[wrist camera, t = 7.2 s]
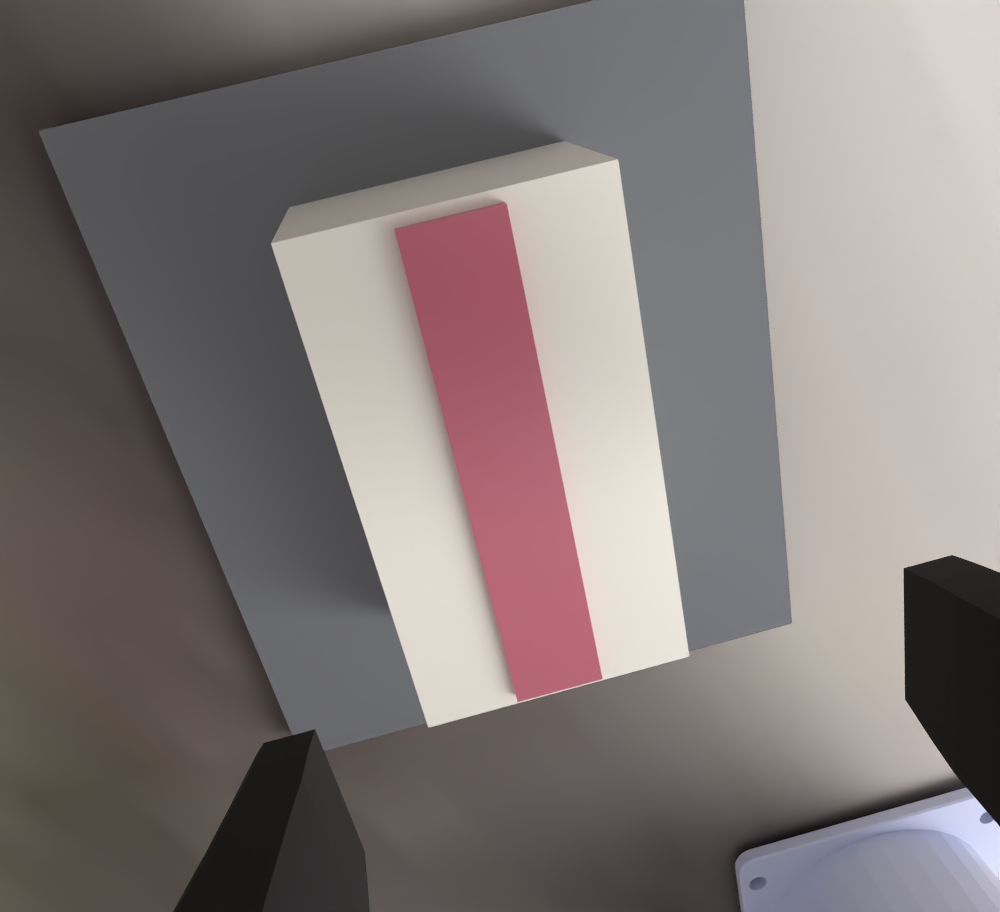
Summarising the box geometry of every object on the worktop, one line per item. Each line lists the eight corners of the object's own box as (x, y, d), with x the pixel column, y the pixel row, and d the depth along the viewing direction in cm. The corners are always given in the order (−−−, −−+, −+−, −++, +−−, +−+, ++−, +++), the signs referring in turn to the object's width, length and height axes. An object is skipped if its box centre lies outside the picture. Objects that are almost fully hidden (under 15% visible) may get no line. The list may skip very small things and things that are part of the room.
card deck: (564, 141, 15) (622, 160, 12) (634, 560, 19) (693, 663, 16) (289, 206, 15) (270, 245, 12) (416, 618, 19) (429, 735, 16)
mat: (776, 604, 21) (791, 623, 21) (303, 733, 21) (301, 757, 20) (722, -30, 15) (741, -35, 15) (53, 128, 15) (37, 130, 14)
